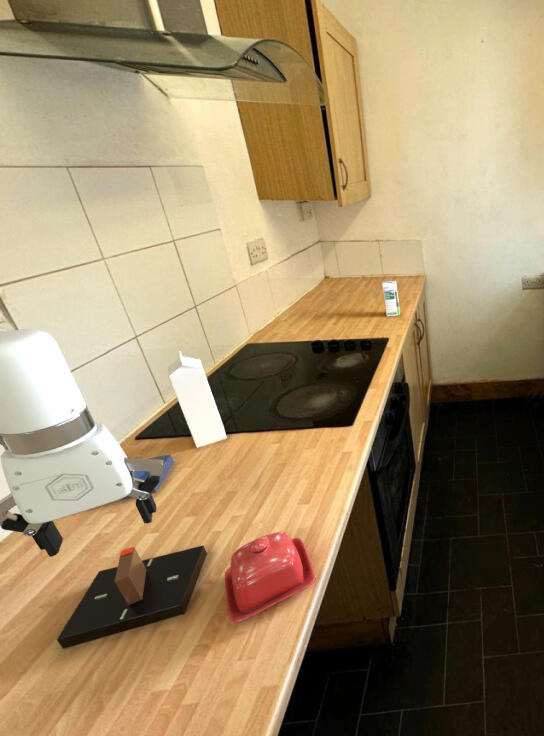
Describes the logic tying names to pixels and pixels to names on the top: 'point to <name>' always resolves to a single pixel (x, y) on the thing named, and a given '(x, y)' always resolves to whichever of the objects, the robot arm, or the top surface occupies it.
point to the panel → (160, 601)
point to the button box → (144, 474)
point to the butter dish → (266, 574)
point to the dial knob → (130, 576)
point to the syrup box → (391, 298)
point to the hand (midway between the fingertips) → (105, 532)
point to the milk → (196, 400)
